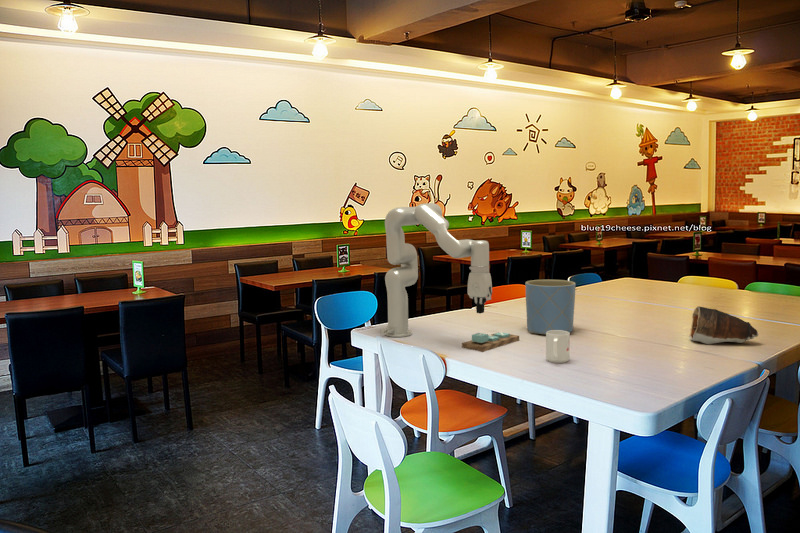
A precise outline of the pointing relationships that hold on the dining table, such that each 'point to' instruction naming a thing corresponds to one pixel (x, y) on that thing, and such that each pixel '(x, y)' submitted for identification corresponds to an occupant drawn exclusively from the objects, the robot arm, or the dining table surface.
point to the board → (489, 343)
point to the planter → (550, 305)
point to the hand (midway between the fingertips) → (480, 312)
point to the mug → (557, 346)
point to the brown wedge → (719, 327)
